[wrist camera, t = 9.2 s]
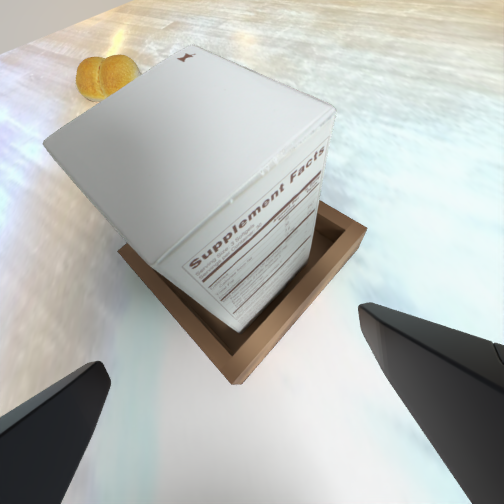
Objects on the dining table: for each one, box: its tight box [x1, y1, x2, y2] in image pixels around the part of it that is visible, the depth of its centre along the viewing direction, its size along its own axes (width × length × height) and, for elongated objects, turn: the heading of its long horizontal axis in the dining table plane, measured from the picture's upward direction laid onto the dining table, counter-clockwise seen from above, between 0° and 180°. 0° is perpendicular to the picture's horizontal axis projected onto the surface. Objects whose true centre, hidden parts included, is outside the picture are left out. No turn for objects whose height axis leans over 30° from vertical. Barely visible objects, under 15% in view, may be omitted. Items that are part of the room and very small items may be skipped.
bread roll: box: [76, 55, 141, 102], centre depth 36 cm, size 8×9×4 cm
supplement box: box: [43, 44, 337, 334], centre depth 14 cm, size 7×7×13 cm
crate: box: [117, 200, 367, 385], centre depth 19 cm, size 13×13×3 cm
